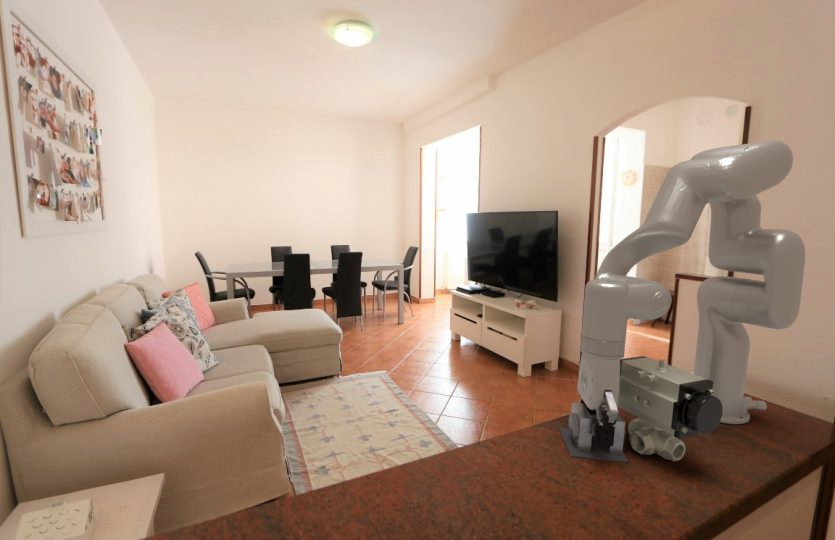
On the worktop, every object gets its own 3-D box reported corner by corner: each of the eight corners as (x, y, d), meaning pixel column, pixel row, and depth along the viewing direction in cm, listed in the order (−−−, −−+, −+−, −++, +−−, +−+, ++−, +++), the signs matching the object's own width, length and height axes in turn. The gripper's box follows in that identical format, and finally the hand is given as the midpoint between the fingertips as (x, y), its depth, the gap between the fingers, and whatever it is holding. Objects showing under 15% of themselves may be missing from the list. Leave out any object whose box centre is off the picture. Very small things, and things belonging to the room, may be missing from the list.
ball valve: (597, 430, 83) (604, 348, 80) (628, 424, 86) (635, 344, 83) (682, 484, 66) (694, 382, 64) (716, 474, 69) (728, 376, 67)
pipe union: (613, 436, 80) (616, 406, 79) (625, 455, 73) (628, 422, 73) (566, 432, 81) (569, 402, 80) (574, 450, 75) (577, 417, 74)
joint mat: (609, 433, 82) (609, 432, 81) (628, 462, 72) (628, 461, 72) (559, 429, 83) (559, 427, 83) (570, 457, 73) (571, 455, 73)
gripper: (570, 331, 84) (564, 408, 86) (595, 359, 67) (587, 454, 69) (608, 333, 83) (601, 411, 85) (643, 362, 66) (633, 459, 68)
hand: (595, 430), depth 77 cm, fingers open, 9 cm apart
